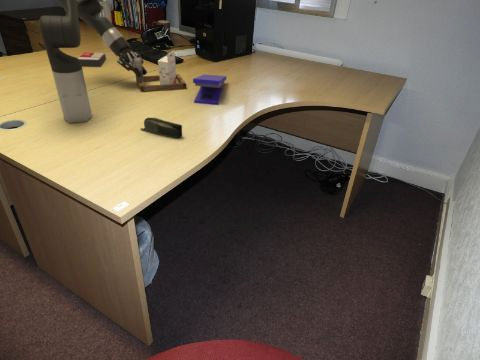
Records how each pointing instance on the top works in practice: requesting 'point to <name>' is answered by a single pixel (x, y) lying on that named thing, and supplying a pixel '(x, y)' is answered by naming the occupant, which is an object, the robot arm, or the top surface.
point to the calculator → (92, 59)
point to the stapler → (209, 88)
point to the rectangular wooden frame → (152, 78)
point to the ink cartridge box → (167, 69)
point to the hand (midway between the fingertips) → (143, 74)
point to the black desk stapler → (162, 127)
